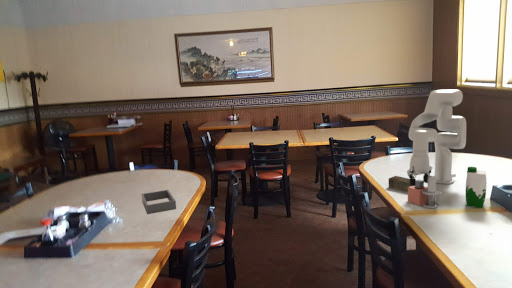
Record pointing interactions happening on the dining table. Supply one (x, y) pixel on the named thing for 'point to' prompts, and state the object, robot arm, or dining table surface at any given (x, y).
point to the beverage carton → (399, 183)
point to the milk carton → (475, 187)
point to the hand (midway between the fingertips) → (419, 184)
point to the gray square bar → (419, 184)
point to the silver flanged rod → (431, 192)
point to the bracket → (417, 195)
